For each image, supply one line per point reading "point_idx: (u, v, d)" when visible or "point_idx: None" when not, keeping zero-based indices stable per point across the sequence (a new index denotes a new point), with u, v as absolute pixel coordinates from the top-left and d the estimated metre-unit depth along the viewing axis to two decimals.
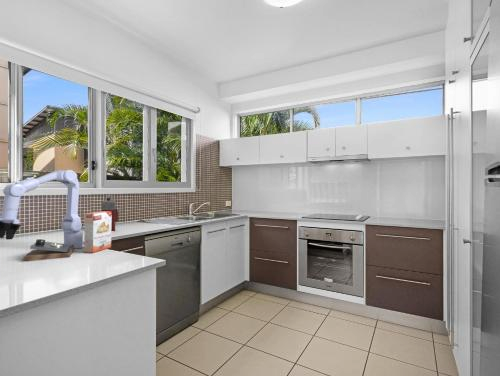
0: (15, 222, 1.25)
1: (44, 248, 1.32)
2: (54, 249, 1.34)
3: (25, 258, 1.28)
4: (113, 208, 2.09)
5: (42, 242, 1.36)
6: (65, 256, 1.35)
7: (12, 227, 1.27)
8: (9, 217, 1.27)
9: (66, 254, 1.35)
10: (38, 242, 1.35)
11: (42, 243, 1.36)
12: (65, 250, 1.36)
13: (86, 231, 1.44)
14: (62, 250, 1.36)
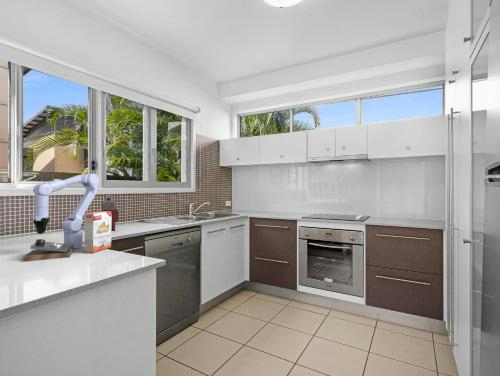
0: (37, 219, 1.37)
1: (44, 248, 1.32)
2: (54, 249, 1.34)
3: (25, 258, 1.28)
4: (113, 208, 2.09)
5: (42, 242, 1.36)
6: (65, 256, 1.35)
7: (40, 223, 1.41)
8: (38, 214, 1.40)
9: (66, 254, 1.35)
10: (38, 242, 1.35)
11: (42, 243, 1.36)
12: (65, 250, 1.36)
13: (86, 231, 1.44)
14: (62, 250, 1.36)
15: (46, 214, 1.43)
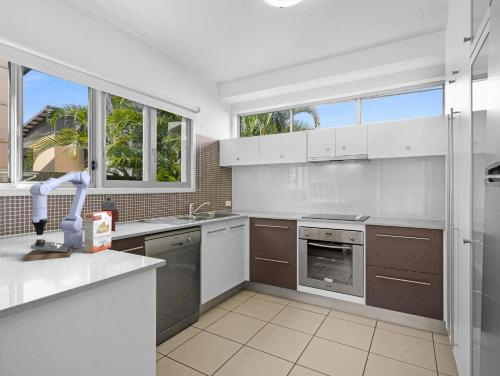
0: (35, 221, 1.31)
1: (44, 248, 1.32)
2: (54, 249, 1.34)
3: (25, 258, 1.28)
4: (113, 208, 2.09)
5: (42, 242, 1.36)
6: (65, 256, 1.35)
7: (39, 224, 1.37)
8: (36, 215, 1.35)
9: (66, 254, 1.35)
10: (38, 242, 1.35)
11: (42, 243, 1.36)
12: (65, 250, 1.36)
13: (86, 231, 1.44)
14: (62, 250, 1.36)
15: (44, 215, 1.37)
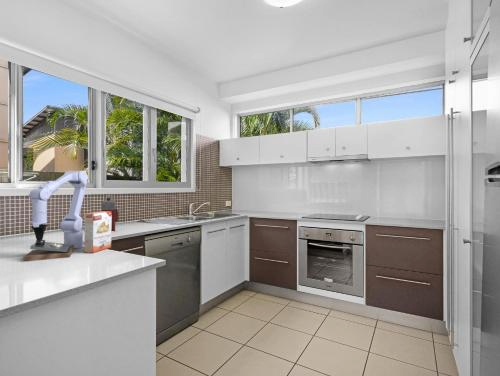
0: (34, 225, 1.30)
1: (44, 248, 1.32)
2: (54, 249, 1.34)
3: (25, 258, 1.28)
4: (113, 208, 2.09)
5: (42, 242, 1.36)
6: (65, 256, 1.35)
7: (39, 229, 1.36)
8: (35, 220, 1.34)
9: (66, 254, 1.35)
10: (38, 242, 1.35)
11: (42, 243, 1.36)
12: (65, 250, 1.36)
13: (86, 231, 1.44)
14: (62, 250, 1.36)
15: (44, 220, 1.36)
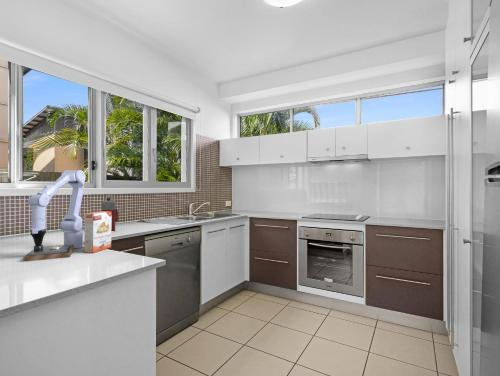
0: (33, 232, 1.30)
1: (43, 253, 1.32)
2: (53, 252, 1.34)
3: (25, 258, 1.28)
4: (113, 208, 2.09)
5: (40, 247, 1.36)
6: (65, 256, 1.35)
7: (38, 235, 1.36)
8: (34, 226, 1.34)
9: (66, 254, 1.35)
10: (36, 248, 1.35)
11: (40, 248, 1.36)
12: (64, 251, 1.36)
13: (86, 231, 1.44)
14: (61, 251, 1.35)
15: (43, 226, 1.36)
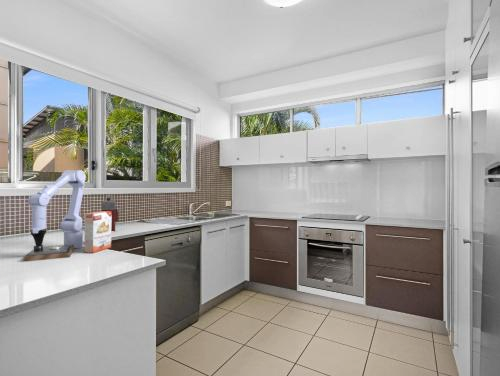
0: (34, 232, 1.30)
1: (43, 253, 1.32)
2: (53, 252, 1.34)
3: (25, 258, 1.28)
4: (113, 208, 2.09)
5: (40, 247, 1.36)
6: (65, 256, 1.35)
7: (39, 234, 1.36)
8: (35, 226, 1.34)
9: (66, 254, 1.35)
10: (36, 248, 1.35)
11: (40, 248, 1.36)
12: (64, 251, 1.36)
13: (86, 231, 1.44)
14: (61, 251, 1.35)
15: (43, 226, 1.36)
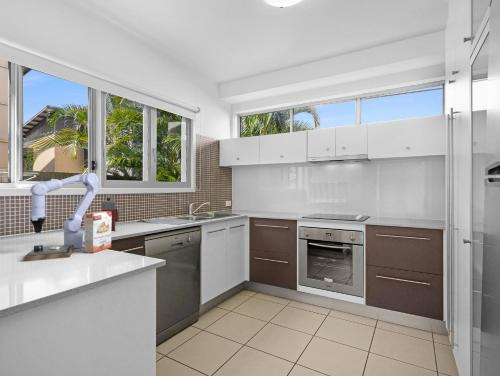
0: (33, 219, 1.38)
1: (43, 253, 1.32)
2: (53, 252, 1.34)
3: (25, 258, 1.28)
4: (113, 208, 2.09)
5: (40, 247, 1.36)
6: (65, 256, 1.35)
7: (38, 222, 1.44)
8: (34, 214, 1.42)
9: (66, 254, 1.35)
10: (36, 248, 1.35)
11: (40, 248, 1.36)
12: (64, 251, 1.36)
13: (86, 231, 1.44)
14: (61, 251, 1.35)
15: (43, 214, 1.44)
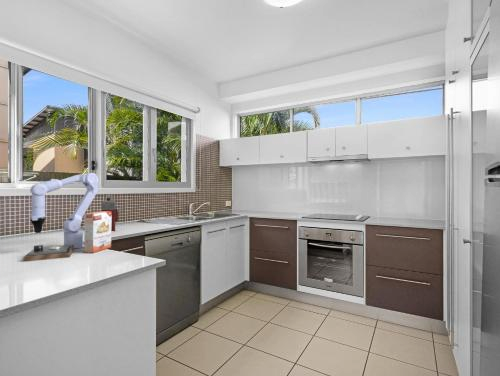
0: (33, 219, 1.38)
1: (43, 253, 1.32)
2: (53, 252, 1.34)
3: (25, 258, 1.28)
4: (113, 208, 2.09)
5: (40, 247, 1.36)
6: (65, 256, 1.35)
7: (38, 222, 1.44)
8: (34, 214, 1.42)
9: (66, 254, 1.35)
10: (36, 248, 1.35)
11: (40, 248, 1.36)
12: (64, 251, 1.36)
13: (86, 231, 1.44)
14: (61, 251, 1.35)
15: (43, 214, 1.44)
